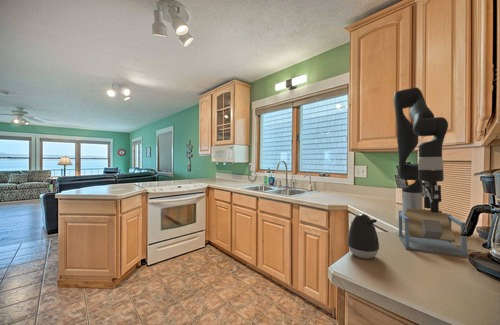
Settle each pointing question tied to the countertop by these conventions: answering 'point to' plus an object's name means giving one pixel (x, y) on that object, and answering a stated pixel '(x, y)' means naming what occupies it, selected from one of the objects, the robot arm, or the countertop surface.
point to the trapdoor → (420, 214)
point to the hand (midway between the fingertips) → (431, 210)
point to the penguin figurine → (363, 237)
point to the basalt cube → (431, 229)
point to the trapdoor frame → (433, 240)
